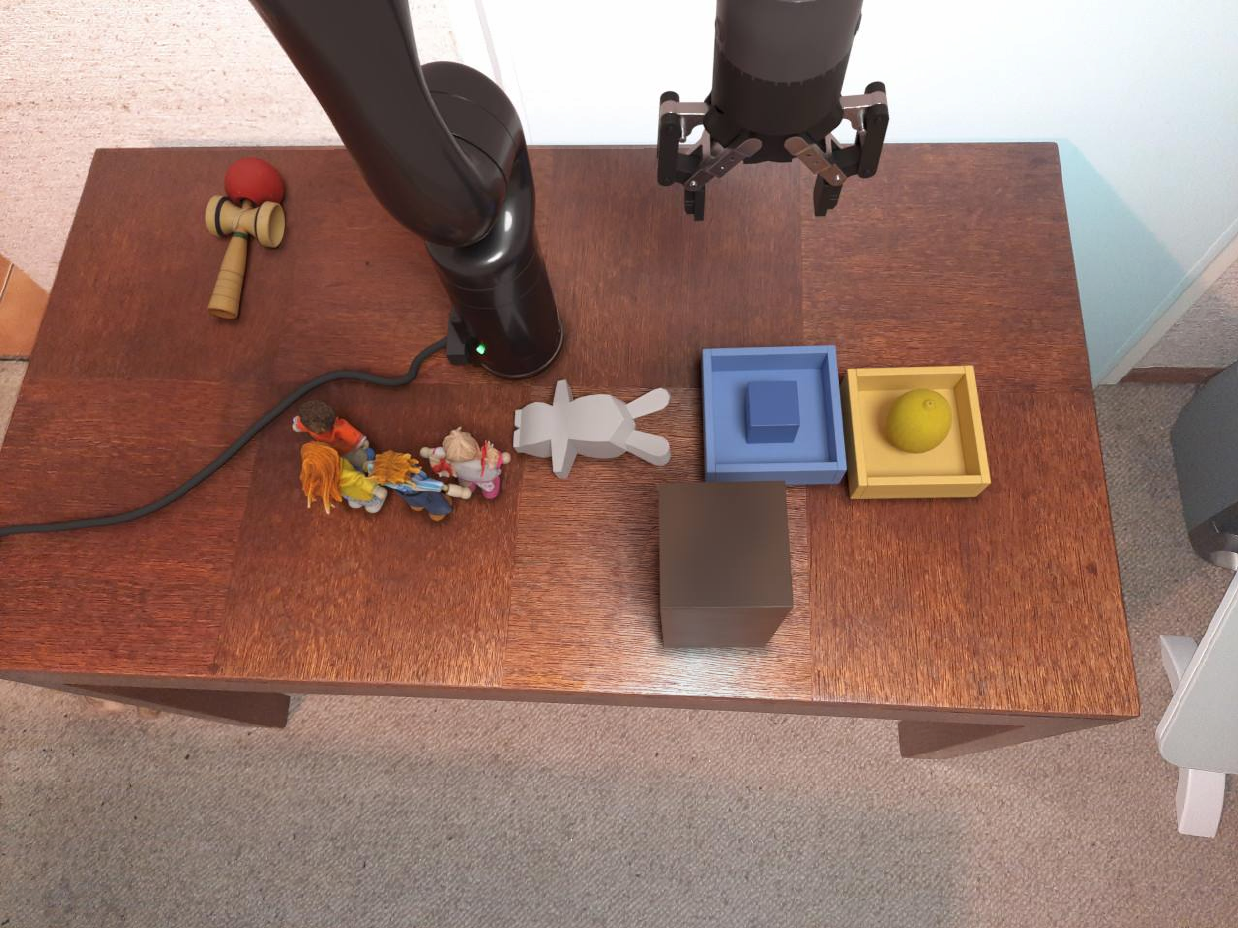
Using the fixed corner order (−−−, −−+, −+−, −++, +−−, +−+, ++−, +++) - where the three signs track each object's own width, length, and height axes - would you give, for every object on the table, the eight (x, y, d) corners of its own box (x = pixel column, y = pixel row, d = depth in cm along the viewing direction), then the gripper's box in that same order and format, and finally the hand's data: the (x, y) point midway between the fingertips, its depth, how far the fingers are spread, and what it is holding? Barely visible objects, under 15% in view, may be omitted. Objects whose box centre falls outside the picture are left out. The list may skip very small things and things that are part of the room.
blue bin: (705, 486, 82) (706, 472, 78) (701, 367, 86) (702, 348, 82) (838, 484, 81) (847, 469, 77) (828, 364, 85) (835, 345, 81)
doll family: (526, 473, 83) (500, 421, 71) (500, 567, 80) (468, 530, 68) (324, 434, 86) (265, 377, 74) (291, 523, 83) (224, 480, 71)
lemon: (948, 435, 81) (976, 400, 74) (913, 476, 80) (937, 445, 73) (901, 400, 83) (923, 363, 75) (865, 439, 82) (884, 406, 74)
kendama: (276, 327, 92) (307, 175, 96) (236, 304, 86) (271, 142, 90) (216, 326, 94) (249, 177, 98) (173, 303, 88) (210, 146, 92)
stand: (663, 647, 77) (660, 608, 58) (662, 550, 80) (658, 482, 61) (764, 647, 76) (793, 607, 57) (759, 549, 79) (785, 480, 61)
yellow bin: (850, 499, 80) (858, 485, 77) (839, 386, 84) (847, 368, 80) (976, 497, 80) (991, 483, 76) (959, 383, 84) (973, 365, 80)
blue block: (746, 443, 82) (750, 426, 78) (744, 401, 84) (747, 381, 80) (793, 442, 82) (800, 425, 78) (790, 399, 84) (796, 380, 79)
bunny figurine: (512, 376, 82) (666, 366, 80) (527, 398, 87) (673, 389, 85) (506, 469, 79) (666, 462, 77) (522, 486, 84) (673, 480, 81)
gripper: (912, -37, 47) (854, 162, 62) (652, -23, 48) (657, 169, 63) (929, 71, 44) (863, 250, 59) (653, 84, 45) (659, 257, 60)
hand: (758, 208), depth 61 cm, fingers open, 8 cm apart
